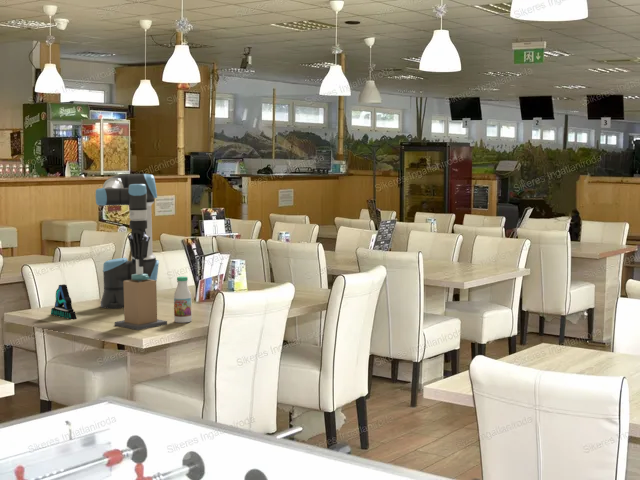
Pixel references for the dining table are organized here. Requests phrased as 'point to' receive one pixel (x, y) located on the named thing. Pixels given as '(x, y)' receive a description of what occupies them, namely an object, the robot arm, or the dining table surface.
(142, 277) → the pump plunger
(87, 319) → the dining table surface
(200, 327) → the dining table surface
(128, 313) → the brown pedestal box
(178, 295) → the milk bottle
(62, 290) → the decorative sign
